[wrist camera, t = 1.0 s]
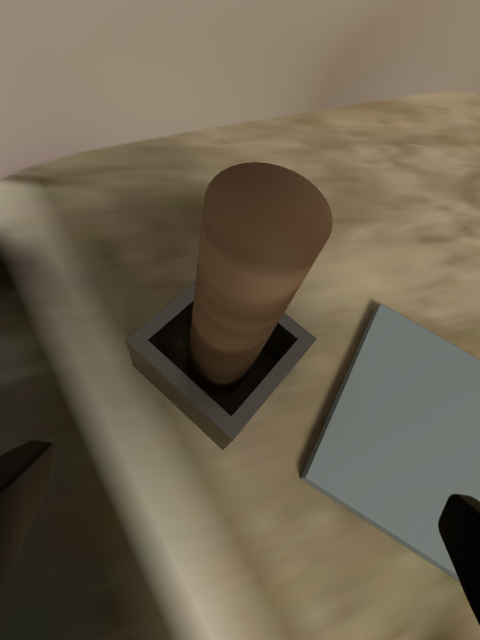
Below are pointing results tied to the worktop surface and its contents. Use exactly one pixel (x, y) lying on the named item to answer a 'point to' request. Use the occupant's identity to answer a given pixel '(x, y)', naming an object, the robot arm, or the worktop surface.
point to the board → (402, 433)
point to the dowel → (250, 266)
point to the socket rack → (184, 393)
